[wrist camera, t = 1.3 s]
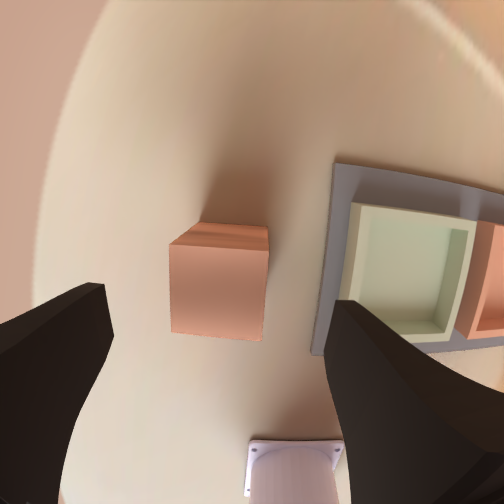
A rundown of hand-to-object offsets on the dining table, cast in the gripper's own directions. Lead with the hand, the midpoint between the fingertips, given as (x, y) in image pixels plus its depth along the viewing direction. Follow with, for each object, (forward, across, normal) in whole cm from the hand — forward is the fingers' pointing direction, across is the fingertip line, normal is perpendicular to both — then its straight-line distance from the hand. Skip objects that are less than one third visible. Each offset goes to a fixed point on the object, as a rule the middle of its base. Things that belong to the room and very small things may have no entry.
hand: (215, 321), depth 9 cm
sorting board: (+9, -15, +2) cm, 18 cm away
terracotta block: (+9, 0, +2) cm, 9 cm away
